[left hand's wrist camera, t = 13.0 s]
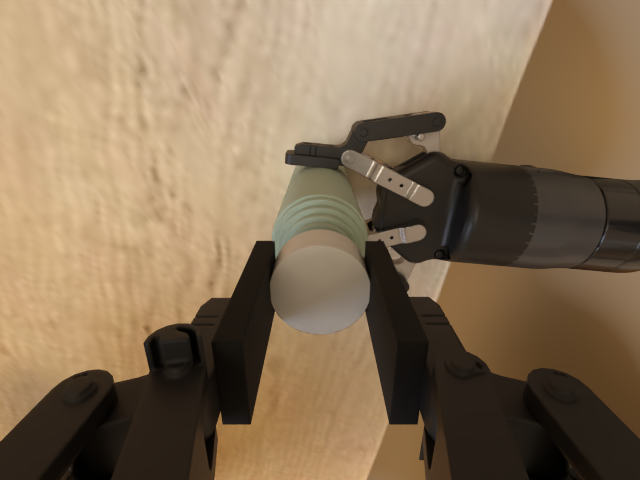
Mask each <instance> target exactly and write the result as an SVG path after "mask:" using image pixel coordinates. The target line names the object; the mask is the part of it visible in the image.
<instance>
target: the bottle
mask: <svg viewBox="0 0 640 480" xmlns="http://www.w3.org/2000/svg"><path fill="white" fill-rule="evenodd" d="M317 229H322V230H330V231H334V232H338V233H340V234H342V235H344V236H346V237H347V238H349V239H350V240H351V241H352V242H353V243H354V244H355V245H356V246H357V247H358V248H359V250H360V252H361V253H362V255H363V258H364V256H365V241H368V233H367V228H366V224H365V222H364V219H363V216H362V213H361V211H360V208H359V205H358V202H357V200H356V197H355V194H354V191H353V189H352V186H351V183H350V181H349V178H348V175H347V172H346V170H345V167H344V166H339V168H338V169H330V168H319V167H309V166H299V165H296V167H295V170H294V173H293V175H292V178H291V181H290V183H289V186H288V189H287V192H286V194H285V197H284V200H283V203H282V205H281V208H280V211H279V214H278V216H277V219H276V222H275V225H274V228H273V233H272V241H275V255H276V258H277V256H278V253H279V251H280V250H281V248H282V247H283V246H284V245H285V244H286V243H287V242H288V241H289V240H290V239H291V238H293V237H294V236H296V235H298V234H300V233H303V232H306V231H310V230H317Z"/></svg>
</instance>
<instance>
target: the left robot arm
mask: <svg viewBox="0 0 640 480" xmlns="http://www.w3.org/2000/svg"><path fill="white" fill-rule="evenodd" d="M275 261H276V255H275V241H256V243H255V246H254V248H253V250H252V252H251V255H250V257H249V259H248V261H247V263H246V266H245V268H244V270H243V272H242V275H241V277H240V279H239V281H238V284H237V286H236V288H235V290H234V292H233V295H232V297H231V298H211V299H210V300H209V301H207V302H206V303H205V304H203V305H202V306H201V307H200V309H199V311H198V312H197V314H196V317H195V318H194V319H193V321H192V323H191V324H174V325H169V326H166V327H164V328H161V329H159V330H157V331H155V332H154V333H152V334H151V335H150V336H148V338H147V339H146V340H145V342H144V348H145V352H146V356H147V361H148V365H149V369H150V372H149V374H148V375H145V376H142V377H138V378H134V379H130V380H125V381H121V382H117V383H114V380H113V376H112V375H111V374H110V373H109V372H108V371H104V370H88V371H85V372H81V373H78V374H75V375H73V376H71V377H69V378H67V379H65V380H63V381H62V382H61V383H59V384H58V385H57V386H56V387H54V388H53V389H52V390H51V391H50V392H49V393H48V394H47V395H46V396H45V397H44V398H43V399H42V400H41V401H40V402H39V403H38V404H37V405H36V406H35V407H34V408H33V409H32V410H31V411H30V412H29V413H28V414H27V415H26V416H25V417H24V418H23V419H22V420H21V421H20V422H19V423H18V424H17V425H16V426H15V427H14V428H13V429H12V430H11V431H10V432H9V433H8V435H7V436H6V437H5V438H4V439H3V440H2V441H1V442H0V480H214V477H215V465H216V454H217V442H218V438H217V431H216V424H217V421H218V418H219V414H220V411H221V415H222V422H223V424H251V420H252V416H253V411H254V406H255V402H256V397H257V392H258V388H259V383H260V378H261V374H262V369H263V364H264V359H265V355H266V350H267V345H268V341H269V336H270V331H271V327H272V322H273V317H274V313H275V310H274V308H273V306H272V303H271V292H270V280H271V276H272V272H273V269H274V265H275ZM364 261H365V265H366V269H367V272H368V276H369V279H370V296H369V303H368V306H367V308H366V310H365V312H366V316H367V321H368V326H369V330H370V335H371V340H372V344H373V349H374V354H375V358H376V363H377V368H378V372H379V377H380V382H381V387H382V391H383V396H384V401H385V405H386V410H387V415H388V419H389V424H418V417H419V410H420V412H421V415H422V418H423V421H424V431H423V438H422V444H421V451H420V457H419V460H424V465H425V476H426V480H640V439H639V438H638V437H637V436H636V435H635V434H634V433H633V432H632V431H631V430H630V429H629V428H628V427H627V426H626V425H625V424H624V423H623V422H622V421H621V420H620V419H619V418H618V417H617V416H616V415H615V414H614V413H613V412H612V411H611V410H610V409H609V408H608V407H607V406H606V405H605V404H604V403H603V402H602V401H601V400H600V399H599V398H598V397H597V396H596V395H595V394H594V393H593V392H592V391H591V390H590V389H589V388H588V387H587V386H586V385H584V384H583V383H582V382H581V381H579V380H578V379H576V378H574V377H572V376H570V375H569V374H567V373H564V372H561V371H557V370H554V369H546V368H540V369H535V370H533V371H532V372H530V373H529V374H528V377H527V381H526V382H525V381H521V380H516V379H512V378H508V377H503V376H500V375H497V374H493V373H491V371H490V369H489V368H488V366H487V365H486V363H485V362H483V361H482V360H481V359H480V358H478V357H477V356H475V355H473V354H471V353H469V352H466V350H465V349H464V347H463V345H462V344H461V342H460V340H459V338H458V337H457V335H456V333H455V331H454V330H453V328H452V326H451V325H450V324H449V321H448V319H447V318H446V317H445V314H444V312H443V311H442V309H441V307H440V306H439V305H438V304H437V303H436V302H434V301H433V300H432V299H431V298H429V297H409V296H408V294H407V292H406V290H405V287H404V285H403V283H402V281H401V279H400V276H399V274H398V272H397V270H396V267H395V265H394V263H393V261H392V259H391V256H390V254H389V252H388V250H387V247H386V245H385V243H384V241H365V260H364Z"/></svg>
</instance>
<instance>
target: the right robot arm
mask: <svg viewBox="0 0 640 480" xmlns="http://www.w3.org/2000/svg"><path fill="white" fill-rule="evenodd" d="M445 123H446V119H445V116H444V115H443V114H442V113H439V112H430V111H425V112H418V113H411V114H404V115H397V116H390V117H383V118H376V119H369V120H362V121H357V122H355V123H354V124H353V125H352V128H351V131H350V133H349V135H348V137H347V139H346V141H345V142H344V143H342V144H340V145H329V144H319V143H309V142H301V143H298V144H296V145H295V150H287V152H286V156H285V163H286V164H290V165H299V166H309V167H319V168H330V169H338V168H339V166H345V167H347V168H349V169H351V170H353V171H355V172H357V173H359V174H361V175H363V176H365V177H367V178H368V179H370V180H371V181H373V182H375V183H377V189H376V194H377V203H376V205H375V207H374V209H373V214H372V218H371V219H367V220H364V222H365V224H366V228H367V233H368V241H384V243H385V245H386V247H388V246H390V247H391V248H393V249H394V250H395V251H396V252H397V253H398V254H400V255H401V257H400V258H399V259H396V260H393V259H392V261H393V263H394V265H395V267H396V270H397V272H398V274H399V276H400V279H401V281H402V283H403V285H404V287H405V290H406V292H407V291H408V290H409V284H408V282H407V279H408V277H409V275H410V273H411V271H412V269H413V267H414V265H415V263H421V262H423V261H426V260H430V259H439V260H444V261H451V262H463V263H475V264H486V265H497V266H509V267H520V268H532V269H546V268H570V269H581V270H593V271H603V272H615V273H628V272H636V271H640V180H620V179H610V178H600V177H590V176H579V175H574V174H570V173H566V172H562V171H558V170H552V169H545V168H536V167H534V166H531V165H520V166H515V165H505V164H495V163H485V162H475V161H465V160H455V159H450V158H449V157H447V156H446V155H445V154H443V153H441V152H440V130H442V129H443V127H444V126H445ZM403 136H406V137H407V140H408V141H409V142H410V143H412V144H415V145H421V146H422V148H423V152H422V153H420V154H418V155H416V156H414V157H413V158H411V159H409V160H407V161H406V162H404V163H402V164H400V165H398V166H397V167H395V168H394V167H392V166H390V165H388V164H386V163H384V162H382V161H380V160H378V159H376V158H374V157H371V156H369V155H367V154H365V153H363V150H364V148H365V146H366V144H367V142H368V141H374V140H381V139H389V138H396V137H403ZM364 260H365V257H364Z"/></svg>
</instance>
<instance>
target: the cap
mask: <svg viewBox="0 0 640 480" xmlns="http://www.w3.org/2000/svg"><path fill="white" fill-rule="evenodd" d="M270 292H271V303H272V306H273V308H274V310H275V311H276V313H277V314H278V316H279V317H280V318H281V319H282V320H283V321H284V322H285V323H287V324H288V325H289V326H291V327H293V328H295V329H297V330H299V331H302V332H305V333H309V334H330V333H335V332H338V331H341V330H343V329H345V328H347V327H349V326H351V325H352V324H353V323H355V322H356V321H357V320H358V319H359V318H360V317H361V316H362V314H363V313H364V311H365V310H366V308H367V306H368V303H369V296H370V279H369V276H368V272H367V269H366V265H365V261H364V258H363V255H362V253H361V252H360V250H359V248H358V247H357V246H356V245H355V244H354V243H353V242H352V241H351V240H350V239H349V238H347V237H346V236H344V235H342V234H340V233H338V232H334V231H330V230H322V229H317V230H310V231H306V232H303V233H300V234H298V235H296V236H294V237H293V238H291V239H290V240H289V241H288V242H287V243H286V244H285V245H284V246H283V247H282V248H281V250H280V251H279V253H278V256H277V258H276V261H275V265H274V269H273V272H272V276H271V280H270Z"/></svg>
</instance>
